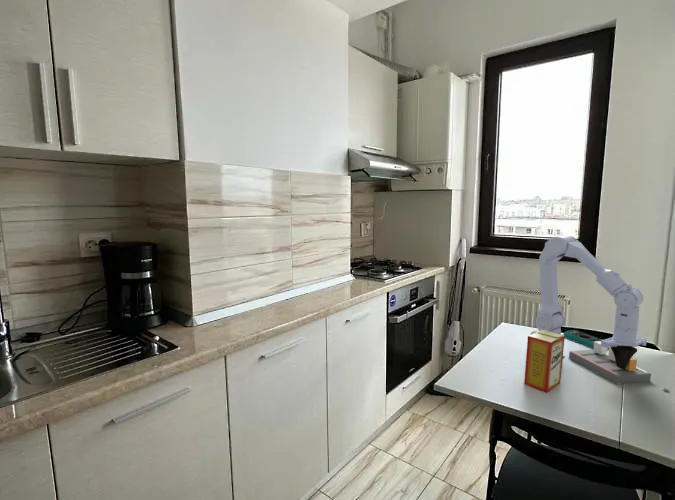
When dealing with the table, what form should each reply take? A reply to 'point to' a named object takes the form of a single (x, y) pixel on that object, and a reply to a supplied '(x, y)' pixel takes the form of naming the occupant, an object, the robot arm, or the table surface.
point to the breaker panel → (607, 365)
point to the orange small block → (631, 364)
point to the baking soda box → (544, 360)
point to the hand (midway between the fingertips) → (620, 367)
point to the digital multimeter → (581, 338)
